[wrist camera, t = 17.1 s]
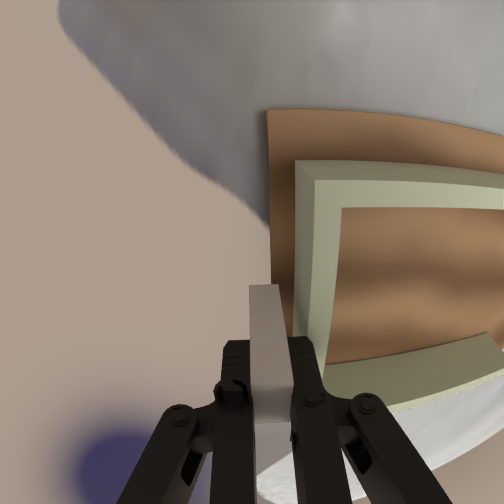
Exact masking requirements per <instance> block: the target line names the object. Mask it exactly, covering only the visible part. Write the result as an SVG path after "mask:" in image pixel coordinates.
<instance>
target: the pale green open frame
mask: <svg viewBox="0 0 504 504" xmlns="http://www.w3.org/2000/svg"><path fill="white" fill-rule="evenodd" d="M350 207H440V208H478V209H502V210H504V174H499V173H493V172H486V171H479V170H472V169H464V168H455V167H446V166H436V165H425V164H413V163H399V162H381V161H355V160H295V271H294V307H293V332H292V337H296V336H307V337H308V338H309V339H310V340H311V341H312V343H313V346H314V350H315V354H316V358H317V362H318V366H319V370H320V374H321V378H322V383H323V386H324V388H325V389H326V391H327V392H328V393H330V394H331V395H333V396H335V397H339V398H346V399H353V398H354V397H355V396H356V395H358V394H361V393H372V394H375V395H377V396H378V397H379V398H380V399H381V400H382V401H383V402H384V404H385V405H386V407H387V408H388V410H389V411H390V412H395V411H399V410H403V409H407V408H411V407H415V406H418V405H422V404H425V403H428V402H432V401H435V400H438V399H441V398H444V397H447V396H450V395H453V394H456V393H459V392H461V391H464V390H467V389H470V388H472V387H475V386H477V385H480V384H482V383H485V382H487V381H489V380H492V379H494V378H496V377H499V376H501V375H503V374H504V353H503V351H502V350H501V349H500V347H499V346H498V345H497V343H496V342H495V341H494V340H493V338H492V337H491V336H490V334H489V333H488V332H487V333H484V334H481V335H477V336H474V337H470V338H467V339H463V340H459V341H455V342H451V343H447V344H443V345H439V346H435V347H431V348H426V349H422V350H417V351H412V352H407V353H402V354H397V355H392V356H386V357H380V358H374V359H368V360H361V361H355V362H347V363H340V364H332V365H325V359H326V353H327V347H328V340H329V333H330V326H331V319H332V311H333V303H334V294H335V285H336V276H337V266H338V255H339V242H340V229H341V213H342V208H350Z"/></svg>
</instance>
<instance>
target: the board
mask: <svg viewBox="0 0 504 504" xmlns="http://www.w3.org/2000/svg"><path fill="white" fill-rule="evenodd" d="M266 132H267V156H268V183H269V214H270V247H271V248H270V249H271V284H278V286H279V292H280V298H281V304H282V310H283V317H284V323H285V329H286V335H287V337H292V332H293V307H294V271H295V160H355V161H381V162H399V163H413V164H425V165H436V166H446V167H455V168H464V169H472V170H479V171H486V172H493V173H499V174H504V137H502V136H498V135H495V134H491V133H487V132H483V131H479V130H475V129H471V128H466V127H462V126H457V125H452V124H447V123H442V122H436V121H431V120H425V119H418V118H411V117H404V116H397V115H388V114H379V113H368V112H356V111H341V110H316V109H269V110H266ZM487 332H488V333H489V334H490V336H491V337H492V338H493V340H494V341H495V342H496V343H497V345H498V346H499V347H500V349H503V348H504V210H502V209H478V208H440V207H350V208H342V213H341V229H340V242H339V255H338V266H337V276H336V285H335V294H334V303H333V311H332V319H331V326H330V333H329V340H328V347H327V353H326V359H325V365H332V364H340V363H347V362H355V361H361V360H368V359H374V358H380V357H386V356H392V355H397V354H402V353H407V352H412V351H417V350H422V349H426V348H431V347H435V346H439V345H443V344H447V343H451V342H455V341H459V340H463V339H467V338H470V337H474V336H477V335H481V334H484V333H487Z"/></svg>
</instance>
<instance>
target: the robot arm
mask: <svg viewBox="0 0 504 504" xmlns="http://www.w3.org/2000/svg"><path fill="white" fill-rule="evenodd" d="M249 302H250V340H229V341H228V342H227V344H226V345H225V347H224V349H223V359H222V370H221V381H219V382H218V383H217V384H216V385H215V388H214V391H213V392H214V396H215V401H214V402H213V403H211V404H209V405H207V406H204V407H200V408H196V409H193V408H192V407H190V406H187V405H182V404H178V405H173V406H171V407H169V408H168V409H167V410H166V411H165V412H164V413H163V415H162V417H161V419H160V421H159V423H158V424H157V426H156V428H155V430H154V432H153V434H152V436H151V438H150V440H149V442H148V444H147V446H146V447H145V450H144V451H143V453H142V455H141V458H140V459H139V461H138V463H137V465H136V467H135V469H134V470H133V473H132V475H131V476H130V478H129V480H128V482H127V484H126V486H125V488H124V490H123V492H122V494H121V496H120V497H119V499H118V501H117V503H116V504H188V502H189V499H190V497H191V494H192V492H193V489H194V486H195V484H196V481H197V479H198V476H199V474H200V471H201V469H202V466H203V463H204V461H205V458H206V456H207V453H208V452H212V451H213V457H212V472H211V488H210V504H257V487H256V453H255V429H254V424H263V423H280V422H290V419H291V436H290V441H292V450H293V459H294V469H295V479H296V489H297V499H298V504H352V500H351V494H350V489H349V484H348V479H347V474H346V469H345V464H344V459H343V455H342V450H343V452H344V454H345V456H346V458H347V459H348V461H349V463H350V465H351V467H352V469H353V471H354V472H355V474H356V476H357V478H358V480H359V482H360V483H361V485H362V487H363V489H364V491H365V493H366V494H367V496H368V498H369V500H370V502H371V504H452V502H451V501H450V499H449V498H448V496H447V495H446V493H445V492H444V490H443V488H442V487H441V485H440V484H439V482H438V481H437V480H436V478H435V477H434V475H433V474H432V472H431V471H430V469H429V468H428V466H427V465H426V463H425V462H424V460H423V459H422V457H421V456H420V454H419V453H418V451H417V450H416V449H415V447H414V446H413V444H412V443H411V441H410V440H409V438H408V437H407V435H406V434H405V433H404V431H403V430H402V428H401V427H400V425H399V424H398V422H397V421H396V420H395V418H394V417H393V415H392V414H391V412H390V411H389V410H388V408H387V407H386V405H385V404H384V402H383V401H382V400H381V399H380V398H379V397H378V396H377V395H375V394H372V393H361V394H358V395H356V396H355V397H354V398H353V399H346V398H339V397H335V396H333V395H331V394H330V393H328V392H327V391H326V389H325V388H324V386H323V383H322V378H321V374H320V370H319V366H318V362H317V358H316V354H315V350H314V346H313V343H312V341H311V340H310V339H309V338H308V337H307V336H296V337H287V335H286V329H285V323H284V317H283V310H282V304H281V298H280V292H279V286H278V284H270V285H251V286H249ZM341 448H342V450H341Z"/></svg>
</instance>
